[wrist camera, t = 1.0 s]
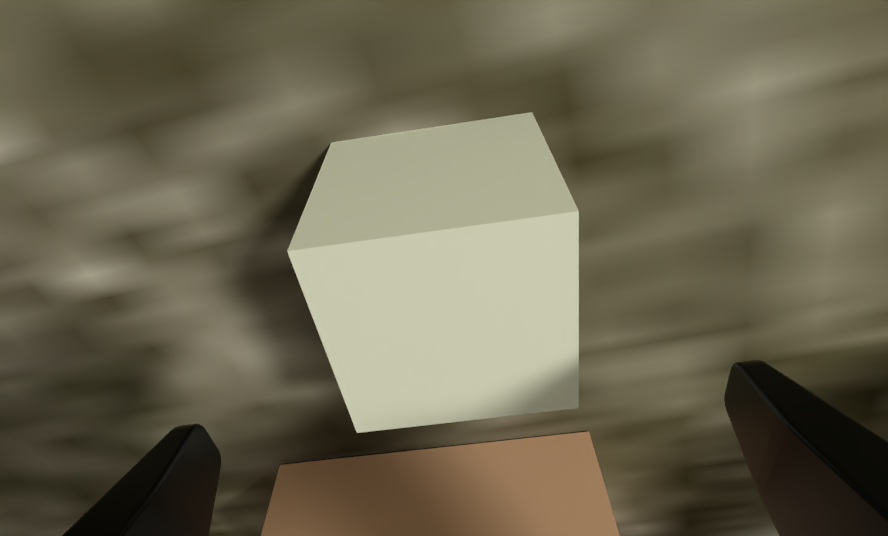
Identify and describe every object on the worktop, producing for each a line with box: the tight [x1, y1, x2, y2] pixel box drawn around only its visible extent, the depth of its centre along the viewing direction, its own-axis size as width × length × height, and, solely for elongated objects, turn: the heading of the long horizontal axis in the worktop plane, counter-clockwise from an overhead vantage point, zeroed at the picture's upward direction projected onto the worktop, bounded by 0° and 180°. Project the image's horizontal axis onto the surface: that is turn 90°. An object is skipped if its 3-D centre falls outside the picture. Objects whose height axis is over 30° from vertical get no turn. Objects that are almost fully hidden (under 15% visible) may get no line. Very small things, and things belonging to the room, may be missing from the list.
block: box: [287, 112, 579, 433], centre depth 12 cm, size 5×5×5 cm
